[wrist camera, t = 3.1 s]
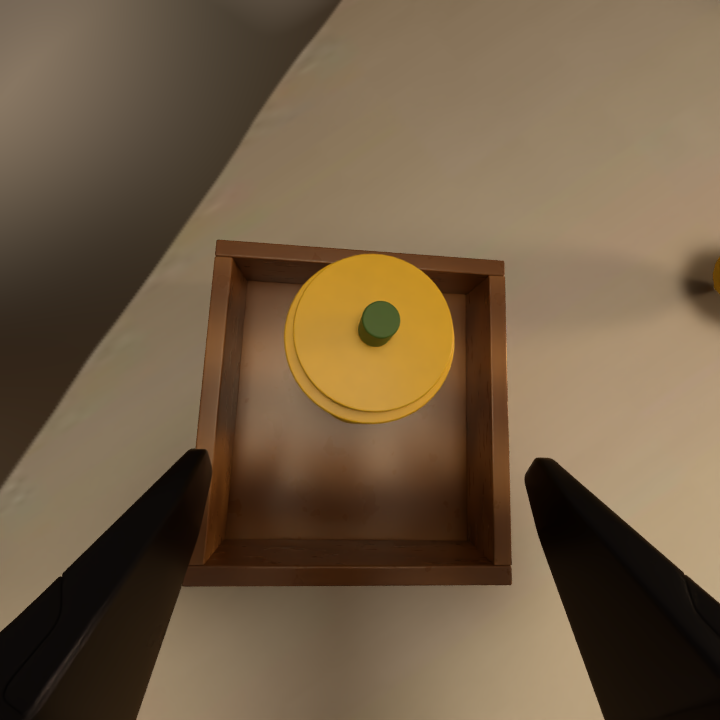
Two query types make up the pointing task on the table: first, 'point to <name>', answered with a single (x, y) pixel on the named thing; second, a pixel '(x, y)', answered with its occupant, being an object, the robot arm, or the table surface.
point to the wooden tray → (349, 443)
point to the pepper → (369, 339)
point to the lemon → (717, 276)
